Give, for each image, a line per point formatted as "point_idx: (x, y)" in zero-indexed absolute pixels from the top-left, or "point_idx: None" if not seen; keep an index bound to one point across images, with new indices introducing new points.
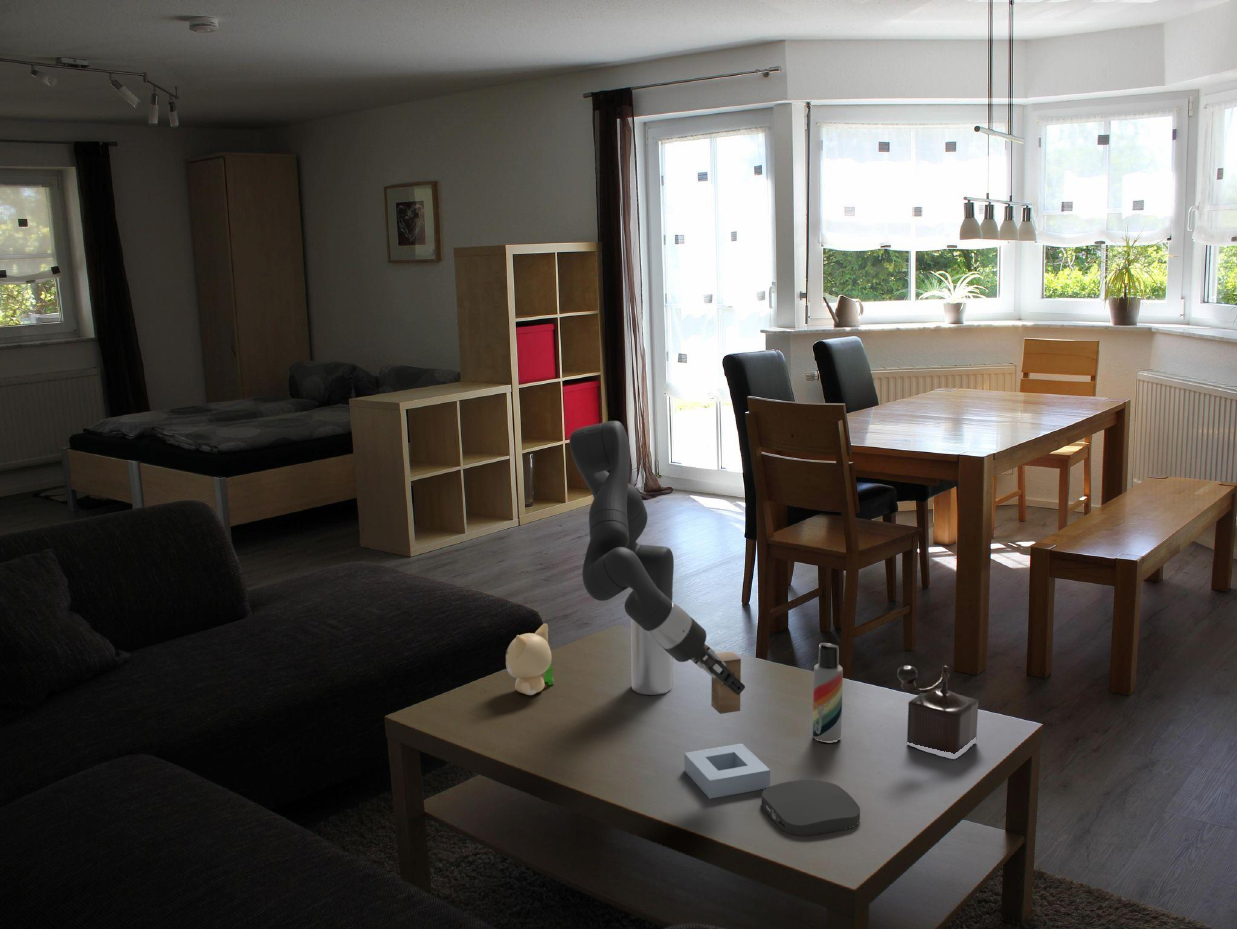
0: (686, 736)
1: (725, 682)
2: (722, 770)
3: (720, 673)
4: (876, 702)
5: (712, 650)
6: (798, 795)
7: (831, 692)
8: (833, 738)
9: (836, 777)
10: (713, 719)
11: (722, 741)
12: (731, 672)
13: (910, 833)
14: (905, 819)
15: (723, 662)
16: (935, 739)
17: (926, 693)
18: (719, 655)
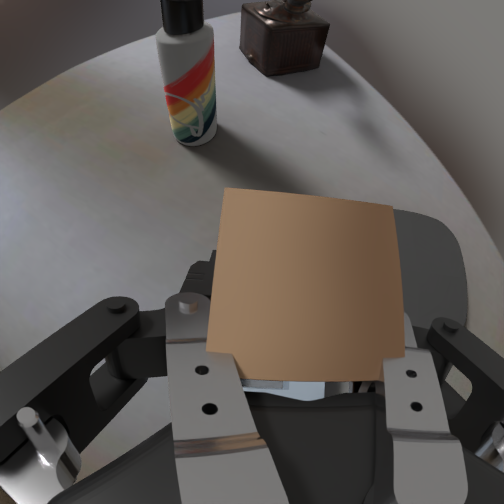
0: (61, 327)
1: (450, 389)
2: (291, 381)
3: (495, 423)
4: (146, 55)
5: (459, 470)
6: (406, 284)
7: (211, 66)
8: (216, 126)
9: (319, 184)
10: (39, 247)
11: (109, 279)
12: (488, 348)
13: (464, 200)
14: (438, 184)
15: (430, 363)
16: (303, 55)
17: (270, 10)
18: (266, 323)
